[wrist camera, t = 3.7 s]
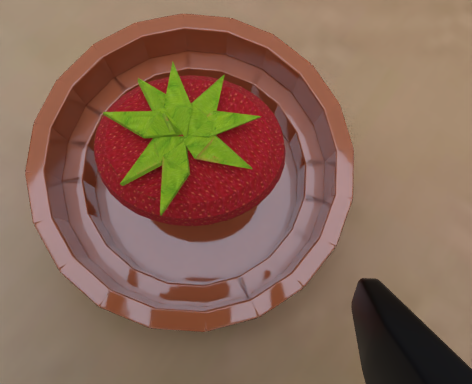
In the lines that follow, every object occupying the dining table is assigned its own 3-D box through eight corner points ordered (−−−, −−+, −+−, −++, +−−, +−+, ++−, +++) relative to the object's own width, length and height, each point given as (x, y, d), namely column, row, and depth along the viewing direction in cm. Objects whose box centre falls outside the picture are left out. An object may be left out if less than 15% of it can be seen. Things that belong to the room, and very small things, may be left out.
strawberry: (270, 235, 21) (319, 207, 11) (123, 237, 20) (37, 210, 11) (267, 127, 22) (308, 13, 12) (127, 126, 21) (52, 9, 12)
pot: (375, 224, 22) (416, 213, 17) (150, 372, 20) (130, 403, 15) (239, 23, 24) (244, -35, 19) (20, 140, 22) (-31, 107, 17)
